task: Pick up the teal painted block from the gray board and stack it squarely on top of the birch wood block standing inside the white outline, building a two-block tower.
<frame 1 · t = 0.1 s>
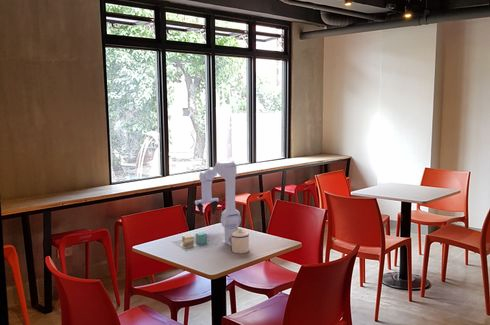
hand: (207, 214, 271), 10 cm above the table, tool pointing down, fingers open, 7 cm apart
teal block: (201, 242, 249), point 1 cm above the table, touching gray board
teacup with lid: (238, 250, 235), on the table
birch block: (188, 245, 244), point 1 cm above the table, touching gray board
gray board: (194, 244, 247), on the table
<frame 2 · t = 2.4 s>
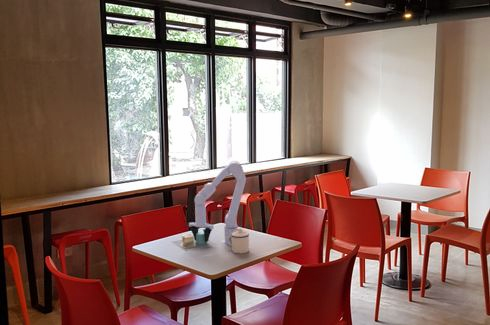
hand: (201, 240, 248), 2 cm above the table, tool pointing down, fingers closed on teal block, 6 cm apart
teal block: (201, 242, 249), point 1 cm above the table, touching gray board, gripper
everything else where it was.
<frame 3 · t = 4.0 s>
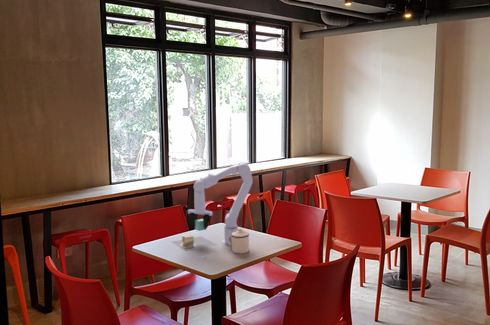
hand: (200, 227, 247), 9 cm above the table, tool pointing down, fingers closed on teal block, 6 cm apart
teal block: (200, 229, 248), point 8 cm above the table, touching gripper
everything else where it was.
when the fingers open (8 cm above the table, at t = 5.5 s): teal block drops 1 cm, resting on birch block.
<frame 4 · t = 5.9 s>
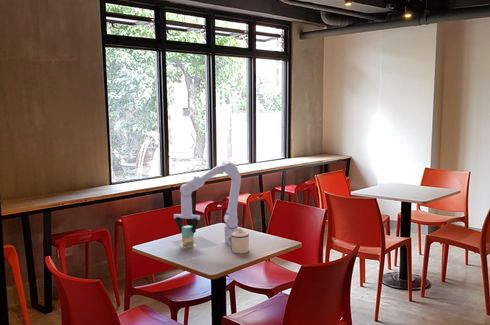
hand: (187, 232, 244), 8 cm above the table, tool pointing down, fingers open, 7 cm apart
teal block: (187, 235, 244), point 6 cm above the table, touching birch block
birch block: (188, 245, 244), point 1 cm above the table, touching gray board, teal block
everything else where it was.
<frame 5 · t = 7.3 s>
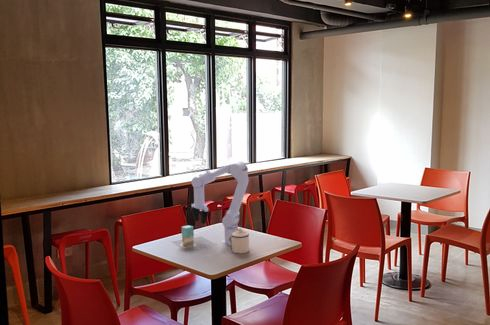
hand: (200, 222, 255), 10 cm above the table, tool pointing down, fingers open, 7 cm apart
nothing on the table moved.
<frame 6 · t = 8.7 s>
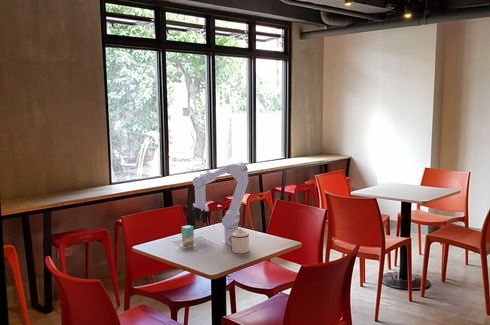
hand: (201, 221, 256), 10 cm above the table, tool pointing down, fingers open, 7 cm apart
nothing on the table moved.
at the end: teal block 0.0 cm from the birch block (horizontally); teal block point 5.6 cm above the table; teal block tilted 0° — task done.
